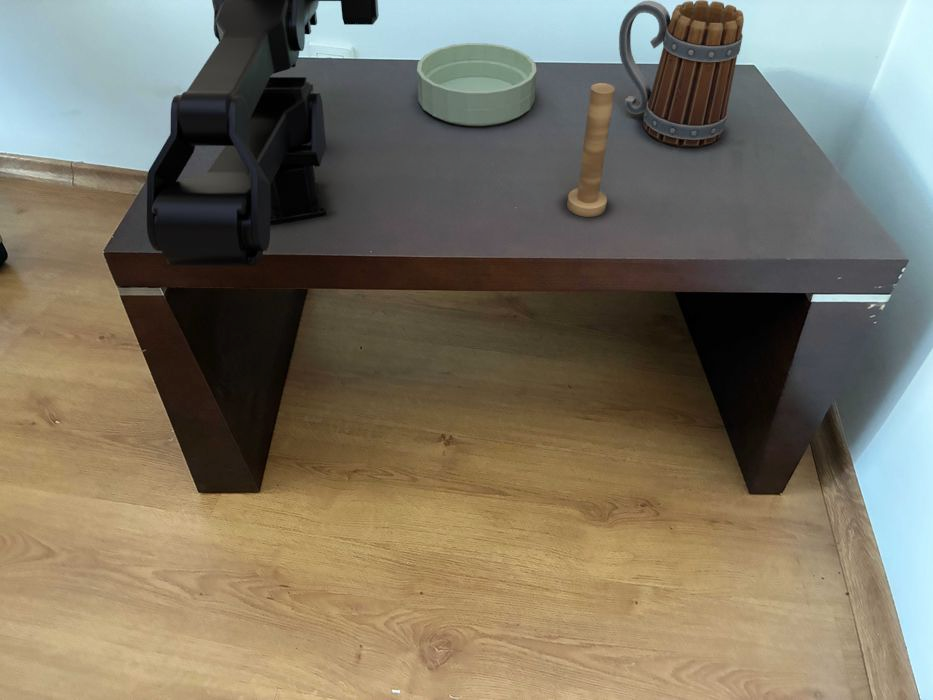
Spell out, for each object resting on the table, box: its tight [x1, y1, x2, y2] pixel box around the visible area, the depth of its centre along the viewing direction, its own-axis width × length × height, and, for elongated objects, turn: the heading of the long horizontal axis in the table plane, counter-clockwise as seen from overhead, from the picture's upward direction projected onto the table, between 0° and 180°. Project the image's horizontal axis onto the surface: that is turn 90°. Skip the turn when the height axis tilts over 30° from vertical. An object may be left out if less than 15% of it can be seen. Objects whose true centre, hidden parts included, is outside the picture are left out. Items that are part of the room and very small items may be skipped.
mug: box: [618, 0, 745, 148], centre depth 90 cm, size 16×11×15 cm
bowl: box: [416, 42, 537, 127], centre depth 99 cm, size 16×16×5 cm
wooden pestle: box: [566, 82, 616, 218], centre depth 77 cm, size 4×4×14 cm
